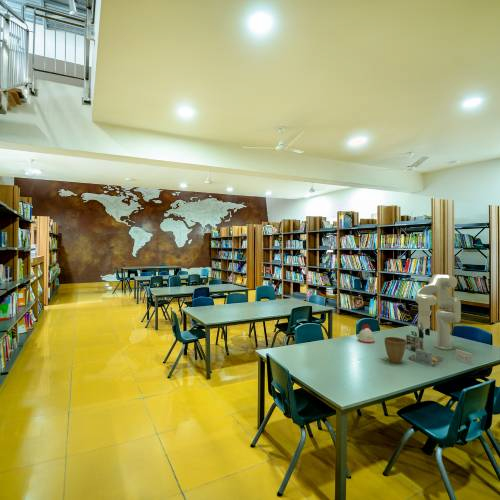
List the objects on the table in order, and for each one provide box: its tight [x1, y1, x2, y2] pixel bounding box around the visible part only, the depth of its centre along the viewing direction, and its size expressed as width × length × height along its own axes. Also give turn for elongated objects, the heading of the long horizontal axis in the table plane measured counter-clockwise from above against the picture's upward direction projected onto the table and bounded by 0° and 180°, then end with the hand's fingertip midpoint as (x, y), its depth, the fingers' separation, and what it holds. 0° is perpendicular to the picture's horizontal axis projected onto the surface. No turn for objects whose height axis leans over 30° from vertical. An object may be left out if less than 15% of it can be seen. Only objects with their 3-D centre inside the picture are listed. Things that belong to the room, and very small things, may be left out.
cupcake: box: [357, 323, 376, 345], centre depth 280 cm, size 14×14×15 cm
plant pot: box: [383, 336, 407, 364], centre depth 231 cm, size 15×15×16 cm
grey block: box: [415, 349, 433, 363], centre depth 230 cm, size 3×10×7 cm, turn 36°
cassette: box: [455, 348, 473, 365], centre depth 229 cm, size 12×2×8 cm, turn 19°
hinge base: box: [408, 354, 444, 367], centre depth 233 cm, size 18×19×3 cm
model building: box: [405, 330, 425, 353], centre depth 257 cm, size 9×9×15 cm
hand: (424, 336), depth 230 cm, fingers open, 9 cm apart
